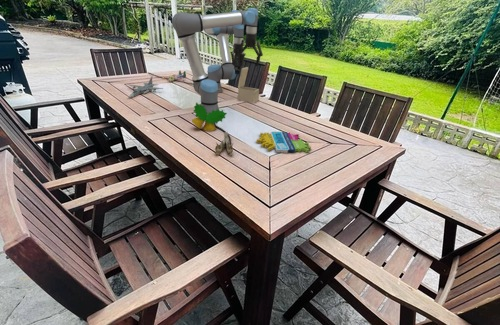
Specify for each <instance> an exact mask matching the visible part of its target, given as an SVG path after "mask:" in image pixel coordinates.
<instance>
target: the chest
mask: <svg viewBox="0 0 500 325" xmlns="http://www.w3.org/2000/svg"><path fill="white" fill-rule="evenodd" d="M259 98H260V88H254V87H248V86H243V87H240V88H238V89H237V101H241V102H245V103H250V104H255V103H257V102H259Z"/></svg>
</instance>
